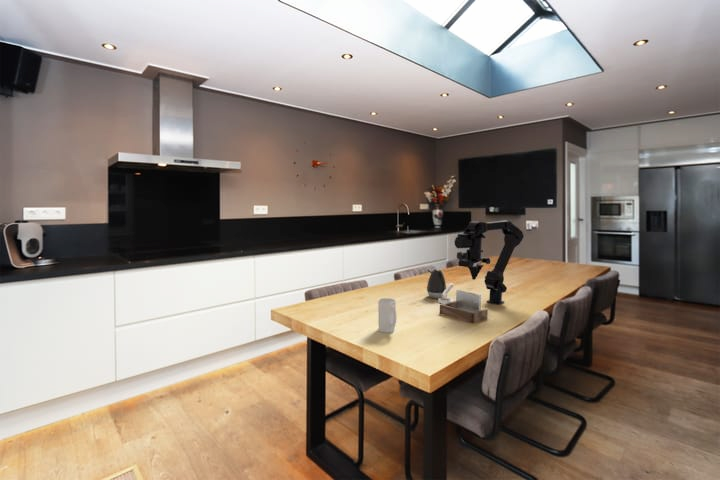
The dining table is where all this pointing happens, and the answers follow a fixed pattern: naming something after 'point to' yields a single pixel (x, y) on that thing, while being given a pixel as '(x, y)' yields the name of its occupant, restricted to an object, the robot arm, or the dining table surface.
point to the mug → (386, 315)
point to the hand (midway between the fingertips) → (473, 279)
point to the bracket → (468, 301)
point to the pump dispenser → (436, 284)
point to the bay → (462, 313)
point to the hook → (445, 295)
